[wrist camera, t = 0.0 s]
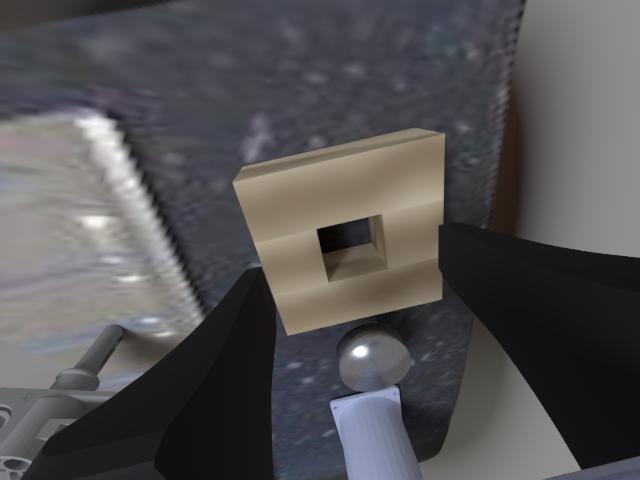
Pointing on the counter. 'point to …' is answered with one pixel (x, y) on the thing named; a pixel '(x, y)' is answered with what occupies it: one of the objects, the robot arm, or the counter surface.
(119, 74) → the counter surface
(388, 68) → the counter surface
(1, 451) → the mechanical component
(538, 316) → the robot arm
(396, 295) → the block
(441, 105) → the counter surface
